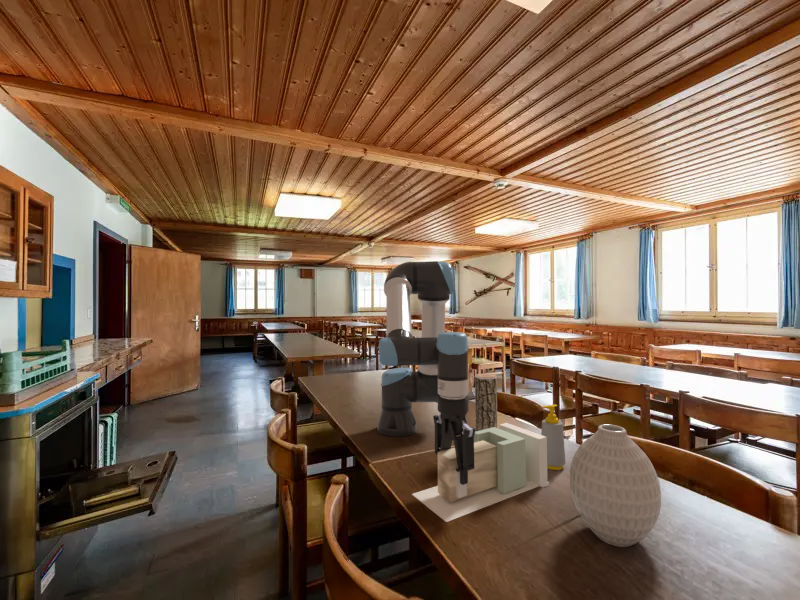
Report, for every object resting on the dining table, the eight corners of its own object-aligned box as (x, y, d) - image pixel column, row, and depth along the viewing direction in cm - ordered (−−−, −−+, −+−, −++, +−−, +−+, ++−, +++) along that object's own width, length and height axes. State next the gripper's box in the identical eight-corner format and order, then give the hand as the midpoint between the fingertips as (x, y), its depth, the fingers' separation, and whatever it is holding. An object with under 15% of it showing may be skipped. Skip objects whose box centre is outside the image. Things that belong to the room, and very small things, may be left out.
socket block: (473, 476, 101) (472, 432, 101) (494, 469, 105) (494, 427, 105) (503, 493, 91) (503, 445, 91) (525, 485, 95) (525, 438, 96)
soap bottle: (535, 463, 111) (534, 403, 112) (553, 459, 114) (552, 401, 114) (551, 472, 105) (550, 409, 105) (571, 468, 107) (570, 406, 107)
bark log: (498, 458, 115) (497, 378, 115) (476, 457, 116) (475, 377, 116) (497, 450, 121) (496, 373, 122) (476, 448, 123) (475, 373, 123)
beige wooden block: (437, 492, 91) (437, 451, 91) (483, 477, 99) (483, 440, 99) (450, 502, 87) (450, 459, 87) (497, 485, 94) (496, 446, 94)
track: (411, 497, 92) (411, 445, 92) (508, 465, 110) (507, 422, 110) (446, 525, 80) (445, 466, 80) (548, 485, 98) (548, 436, 98)
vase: (596, 506, 87) (595, 411, 87) (677, 543, 74) (675, 431, 74) (554, 529, 78) (552, 424, 79) (636, 576, 65) (634, 448, 65)
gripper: (419, 390, 97) (420, 479, 96) (465, 406, 81) (466, 513, 81) (442, 386, 100) (443, 473, 100) (490, 401, 85) (491, 503, 85)
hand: (453, 490), depth 90 cm, fingers closed on beige wooden block, 5 cm apart
